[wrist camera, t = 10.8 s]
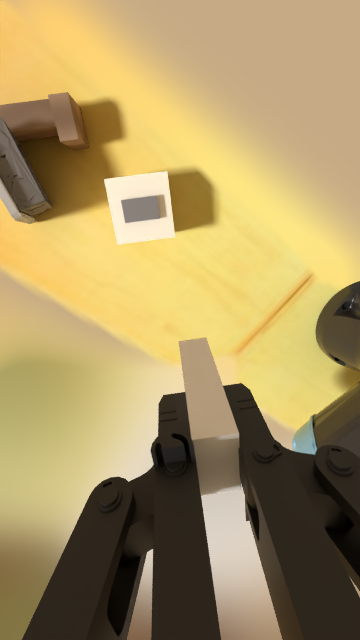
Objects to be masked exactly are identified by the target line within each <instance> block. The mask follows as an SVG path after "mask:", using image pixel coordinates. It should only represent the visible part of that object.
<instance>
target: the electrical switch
mask: <svg viewBox="0 0 360 640" xmlns="http://www.w3.org/2000/svg"><path fill="white" fill-rule="evenodd" d="M17 144H19V145H17ZM0 199H1V200H2V201H3V203H4V204H5V206H6V208H7V209H8V211H9V213H10V214H11V216H12V217H13V218H14V220H15V221H19V222H24V223H28V224H31V223H35V218H34V215H37V214H40V213H42V212H44V211H46V210H48V209H51V208H53V207H52V205H51V203H50V201H49V200H48V198H47V196H46V194H45V192H44V190H43V188H42V186H41V184H40V182H39V180H38V178H37V177H36V175H35V173H34V171H33V169H32V167H31V165H30V163H29V161H28V159H27V157H26V155H25V154H24V152H23V150H22V148H21V146H20V143H19V142H18V140H17V139H16V137H15V136H14V135H13V133H12V132H11V130H10V129H9V127H8V126H7V124H6V123H5V121H4V120H3V119H2V118H1V119H0Z"/></svg>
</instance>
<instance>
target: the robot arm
mask: <svg viewBox="0 0 360 640" xmlns="http://www.w3.org/2000/svg"><path fill="white" fill-rule="evenodd" d="M316 339H317V342H318V345H319V347H320V348H321V350H322V351H323V352H324V353H325V354H326V355H327V356H328V357H329V358H331V359H332V360H333V361H335V362H336V363H338V364H340V365H343V366H346V367H348V368H351V369H354V370H356V371H359V372H360V281H359V282H356V283H354V284H351V285H349V286H347V287H345V288H344V289H342V290H341V291H339V292H338V293H337V294H336V295H334V296H333V297H332V298H331V299H330V301H329V302H328V303H327V304H326V305H325V307H324V308H323V310H322V312H321V314H320V316H319V318H318V321H317V326H316ZM179 347H180V355H181V362H182V370H183V377H184V385H185V392H182V393H175V394H168V395H163V397H162V399H161V401H160V403H159V423H158V426H159V427H158V437H157V438H156V439H155V441H154V442H153V443H152V447H151V454H152V458H153V463H154V465H153V467H152V468H151V469H150V470H149V471H148V472H146V473H145V474H143V475H142V476H140V477H138V478H136V479H133V480H131V481H129V482H128V481H127V480H126V479H124V478H121V477H112V478H109V479H106V480H104V481H102V482H101V483H100V484H99V485H98V486H97V487H95V488H94V490H93V491H92V493H91V495H90V496H89V498H88V500H87V502H86V504H85V507H84V509H83V511H82V513H81V515H80V517H79V520H78V521H77V524H76V526H75V528H74V530H73V532H72V534H71V536H70V539H69V541H68V543H67V545H66V547H65V549H64V551H63V553H62V556H61V558H60V560H59V562H58V564H57V566H56V568H55V571H54V573H53V575H52V577H51V579H50V581H49V583H48V586H47V588H46V590H45V592H44V594H43V596H42V598H41V600H40V602H39V605H38V607H37V609H36V611H35V613H34V615H33V617H32V619H31V622H30V624H29V626H28V628H27V630H26V632H25V634H24V637H23V639H22V640H127V636H128V632H129V627H130V623H131V619H132V614H133V610H134V606H135V602H136V597H137V593H138V589H139V584H140V580H141V576H142V572H143V567H144V563H145V559H146V554H147V552H148V551H149V550H151V549H153V589H152V637H151V640H221V636H220V629H219V622H218V615H217V607H216V600H215V594H214V587H213V579H212V572H211V565H210V558H209V550H208V543H207V536H206V530H205V522H204V515H203V508H202V500H201V496H202V495H209V494H216V493H223V492H230V491H236V490H241V484H242V487H243V490H244V494H245V511H246V521H250V524H251V528H252V531H253V535H254V538H255V542H256V546H257V549H258V553H259V557H260V560H261V564H262V567H263V571H264V574H265V578H266V582H267V585H268V589H269V592H270V596H271V599H272V603H273V607H274V610H275V614H276V617H277V621H278V625H279V628H280V632H281V635H282V639H283V640H360V597H359V595H358V593H357V591H356V589H355V587H354V585H353V583H352V581H353V582H354V584H355V585H356V586H357V588H358V589H359V591H360V382H358V383H357V384H356V385H355V386H353V387H352V388H351V389H350V390H348V391H347V392H346V393H344V394H343V395H342V396H340V397H339V398H338V399H336V400H335V401H334V402H332V403H331V404H330V405H328V406H327V407H326V408H324V409H323V410H322V411H320V412H319V413H318V414H316V415H315V414H314V415H312V416H311V417H310V420H309V421H308V422H307V423H305V424H304V425H303V426H302V427H301V428H300V429H298V430H297V431H296V433H295V434H294V436H293V442H292V446H293V451H291V450H289V449H286V448H284V447H283V446H282V445H281V444H280V443H279V442H277V441H276V440H274V438H273V437H272V435H271V433H270V431H269V429H268V427H267V424H266V422H265V420H264V418H263V416H262V414H261V412H260V410H259V408H258V406H257V404H256V402H255V401H254V397H253V395H252V393H251V391H250V390H249V389H248V388H247V387H246V386H244V385H243V384H242V383H240V384H233V385H226V386H223V385H222V382H221V379H220V376H219V374H218V371H217V368H216V365H215V362H214V359H213V356H212V353H211V350H210V347H209V344H208V342H207V339H206V338H199V339H192V340H185V341H179ZM350 578H351V579H352V581H351V579H350Z"/></svg>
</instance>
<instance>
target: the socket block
mask: <svg viewBox="0 0 360 640" xmlns="http://www.w3.org/2000/svg"><path fill="white" fill-rule="evenodd" d="M104 182H105V187H106V192H107V197H108V201H109V206H110V211H111V216H112V221H113V225H114V230H115V235H116V240H117V245H118V244H126V243H133V242H141V241H149V240H156V239H164V238H171V237H175V231H174V223H173V215H172V206H171V198H170V190H169V181H168V173H167V171H164V172H156V173H148V174H140V175H132V176H124V177H116V178H109V179H104Z"/></svg>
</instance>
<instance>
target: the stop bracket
mask: <svg viewBox="0 0 360 640" xmlns="http://www.w3.org/2000/svg"><path fill="white" fill-rule="evenodd" d="M48 97H49V99H45V100H37V101H29V102H21V103H13V104H6V105H0V119H1V118H2V119H3V120H4V121H5V123H6V124H7V126H8V127H9V129H10V130H11V132H12V133H13V135H14V136H15V137H16V139H17V140H18V141H21V140H29V139H36V138H44V137H52V136H59V140H60V142H62V143H63V144H65V145H66V146H68V147H69V148H71V149H73V150H74V149H82V148H89V145H88V141H87V136H86V132H85V127H84V123H83V118H82V114H81V109H80V107H79V106H78V104H77V103H76V102H75V101H74V100H73V98H72V97H71V96H70V95H69V93H68V92H67V93H59V94H51V95H48Z"/></svg>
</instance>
